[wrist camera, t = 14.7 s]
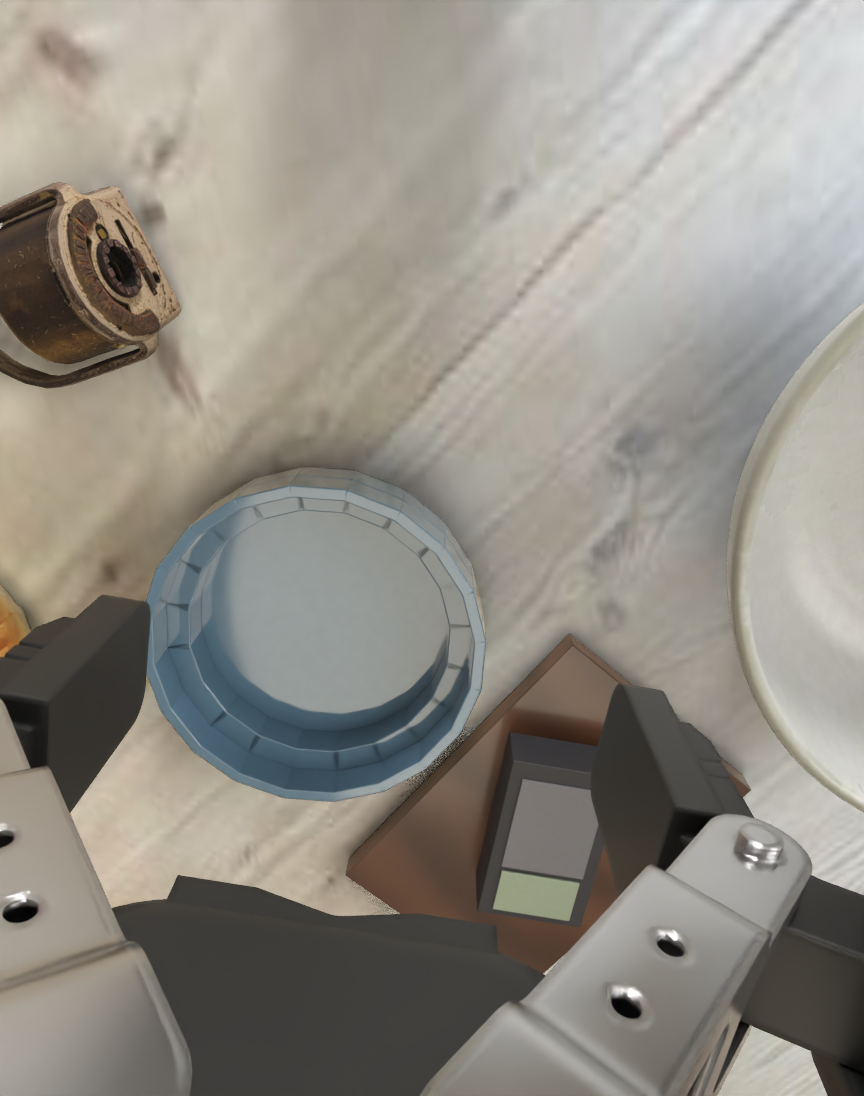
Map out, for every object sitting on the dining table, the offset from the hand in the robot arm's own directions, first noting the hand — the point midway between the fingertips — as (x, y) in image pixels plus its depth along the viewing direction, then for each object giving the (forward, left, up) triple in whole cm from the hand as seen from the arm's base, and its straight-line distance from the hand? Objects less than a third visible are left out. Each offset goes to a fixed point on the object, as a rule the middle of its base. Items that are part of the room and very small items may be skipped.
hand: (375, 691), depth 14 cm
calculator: (+13, +20, -28) cm, 37 cm away
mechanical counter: (+7, -18, -30) cm, 36 cm away
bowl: (+12, +3, -30) cm, 32 cm away
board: (+14, +21, -30) cm, 39 cm away
